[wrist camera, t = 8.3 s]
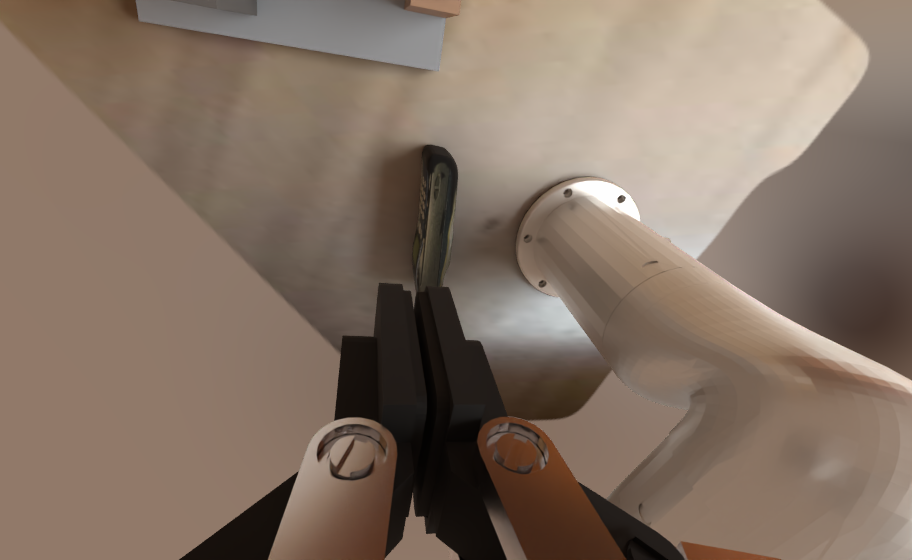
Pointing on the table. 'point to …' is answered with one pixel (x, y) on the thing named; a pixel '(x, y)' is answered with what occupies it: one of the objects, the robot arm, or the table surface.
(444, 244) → the mobile phone
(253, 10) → the collar
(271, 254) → the table surface
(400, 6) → the pipe stand
